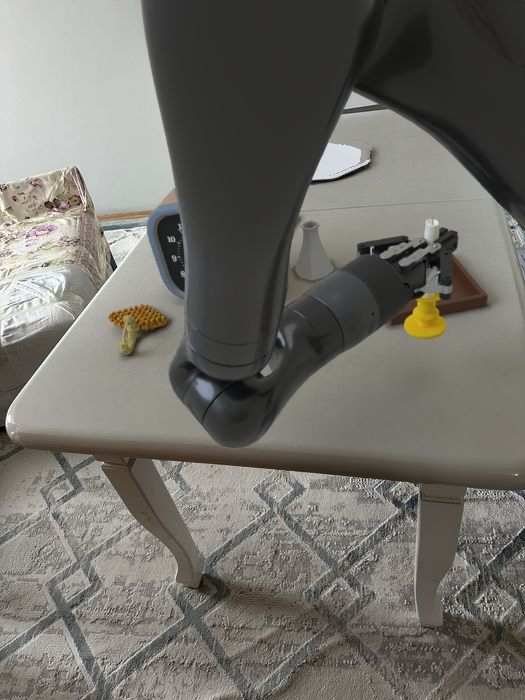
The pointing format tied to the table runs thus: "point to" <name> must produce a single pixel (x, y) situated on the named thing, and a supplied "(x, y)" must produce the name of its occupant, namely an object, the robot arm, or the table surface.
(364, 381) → the table surface
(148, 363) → the table surface
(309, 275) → the flask
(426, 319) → the candle
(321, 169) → the plate
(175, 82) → the robot arm
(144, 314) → the ornament
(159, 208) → the alarm clock
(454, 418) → the table surface
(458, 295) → the tray
